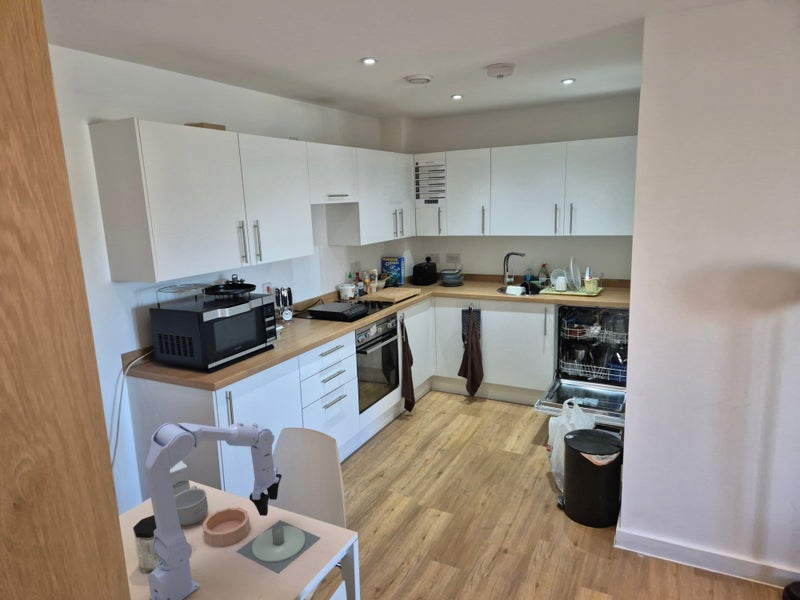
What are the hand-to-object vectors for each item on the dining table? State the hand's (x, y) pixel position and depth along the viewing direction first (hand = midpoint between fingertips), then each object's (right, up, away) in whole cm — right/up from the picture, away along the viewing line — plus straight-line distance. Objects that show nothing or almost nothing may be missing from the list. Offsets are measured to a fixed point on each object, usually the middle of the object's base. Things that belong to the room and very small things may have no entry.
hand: (268, 506), depth 152 cm
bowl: (-13, -10, +3) cm, 17 cm away
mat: (+4, -10, -3) cm, 11 cm away
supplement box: (-37, -7, +22) cm, 44 cm away
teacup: (-28, -9, +13) cm, 32 cm away
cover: (+4, -10, -3) cm, 11 cm away
